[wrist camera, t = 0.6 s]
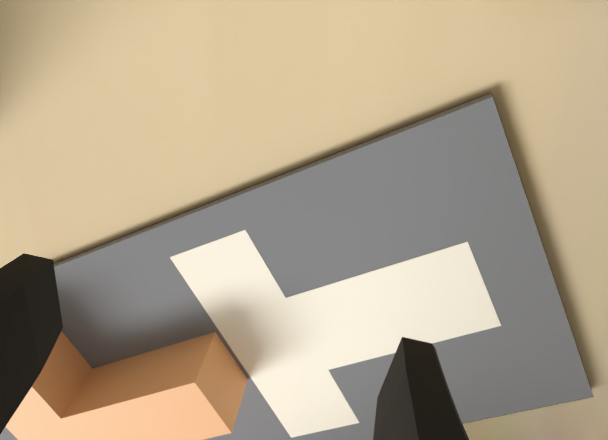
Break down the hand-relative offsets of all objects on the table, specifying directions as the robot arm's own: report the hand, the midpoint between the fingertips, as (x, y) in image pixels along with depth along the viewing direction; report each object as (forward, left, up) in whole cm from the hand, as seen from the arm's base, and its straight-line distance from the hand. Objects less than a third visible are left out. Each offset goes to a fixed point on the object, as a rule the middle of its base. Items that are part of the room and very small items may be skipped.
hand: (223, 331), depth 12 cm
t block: (-12, -8, -10) cm, 17 cm away
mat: (-9, -8, -10) cm, 15 cm away
